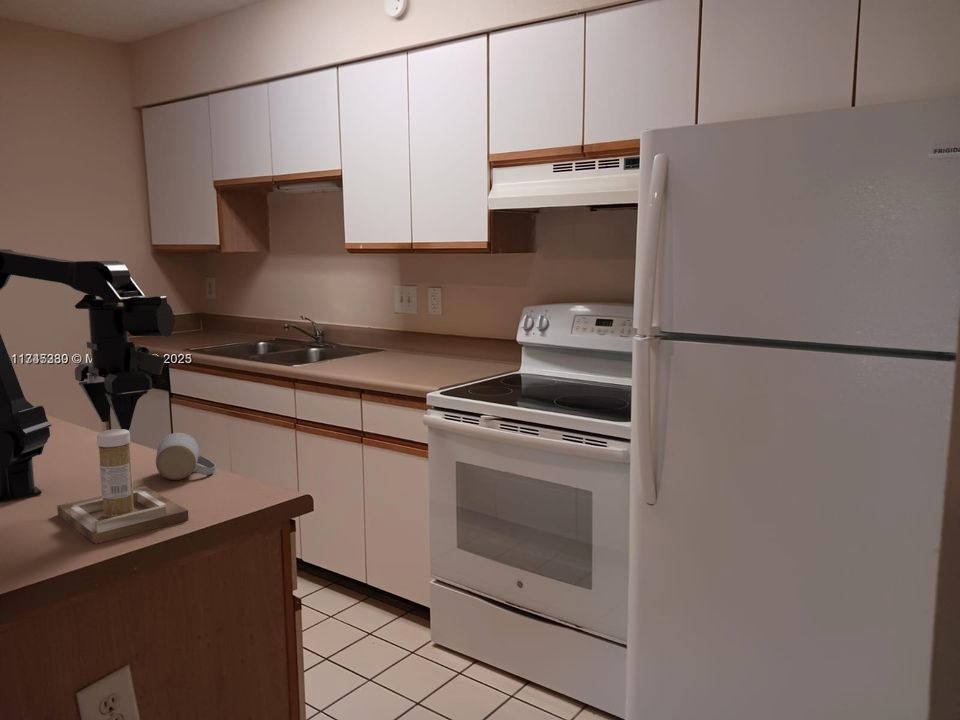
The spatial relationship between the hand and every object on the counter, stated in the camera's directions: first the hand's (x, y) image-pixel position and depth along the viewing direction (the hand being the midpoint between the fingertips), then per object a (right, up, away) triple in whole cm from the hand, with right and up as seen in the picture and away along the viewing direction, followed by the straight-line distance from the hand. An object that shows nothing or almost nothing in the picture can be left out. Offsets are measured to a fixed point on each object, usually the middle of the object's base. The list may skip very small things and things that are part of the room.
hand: (115, 426), depth 123 cm
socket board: (+5, -14, -7) cm, 16 cm away
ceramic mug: (+6, -11, +16) cm, 20 cm away
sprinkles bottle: (+6, -13, -10) cm, 18 cm away
